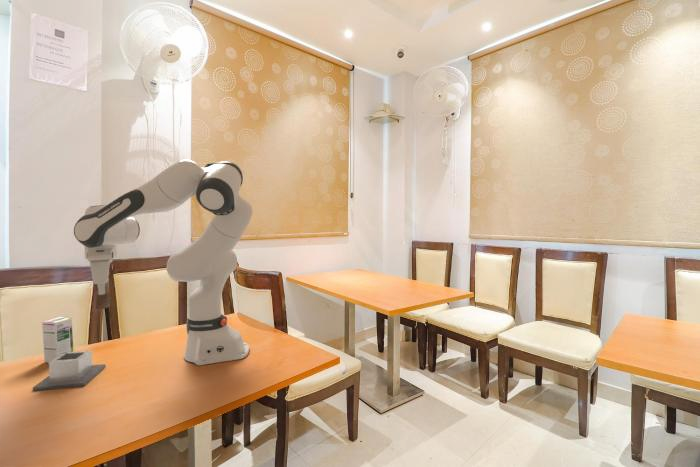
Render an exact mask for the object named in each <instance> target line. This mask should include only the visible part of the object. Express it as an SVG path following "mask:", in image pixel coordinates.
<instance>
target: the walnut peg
mask: <svg viewBox="0 0 700 467" xmlns="http://www.w3.org/2000/svg"><path fill="white" fill-rule="evenodd" d="M94 297H95V298H94V299H95V310H96V309H97V310H103V309H104V310H105V309H108V308H110V307H111V303H110V302H111V300H110V299H111V298H110V297H111V296H110V278H109V277H108V281H107V283H105V294H102V295H99V294H98V285H97V284H94Z"/></svg>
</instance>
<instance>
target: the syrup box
mask: <svg viewBox="0 0 700 467" xmlns="http://www.w3.org/2000/svg"><path fill="white" fill-rule="evenodd" d="M72 320H73V319H72V317H69V316H58V317H56V318H51V319H49V320H45V321H42V323H41V325H42V341H43V343H42V344H43V356H44V357H43V360H44V363H46V362H47V363H48V364H49V362H50V361H52V360H53V359H55V358H56V357H58V356H59V355H61V354H63V353H64V352H74V343H73V342H74V339H73V338H74V336H73V321H72Z"/></svg>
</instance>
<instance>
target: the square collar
mask: <svg viewBox="0 0 700 467" xmlns="http://www.w3.org/2000/svg"><path fill="white" fill-rule="evenodd" d="M92 354H93V353H92V350H80V351H73V352H64V353H63V354H61V355H59V356H58V357H56V358H55V359H53V360H52V361H50V362H49V363H48V368H49V369H48V371H49V373H48V374H49V375H48V376H46V377H45V378H44V379H42V380H41V381H39V382H38V383H37V384H35V385H34V386H33V387H32V392H33V391H34V392H36V391H45V390H58V389H67V388H69V389H70V388H78V387H79V388H80V387H86V386H87V384H89V383H90V382H91V381H92V380H94V379H95V377H97V376H98V375H99V374H100V373H101V372H102V371H104V369H105V368H106V363H104V364H93V359H92V358H93V357H92V356H93V355H92Z"/></svg>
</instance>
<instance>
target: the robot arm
mask: <svg viewBox="0 0 700 467" xmlns="http://www.w3.org/2000/svg"><path fill="white" fill-rule="evenodd" d="M243 175H244V174H243V172H242V170H241V168H240V167H239V166H238V165H237V164H236V163H234V162H231V161H226V160H225V161H219V162H218V161H217V162H214V163H213V162H212V163H207V164H206V165H205V166H204V167H201V166H200V165H199V164H198V163H196V162H195V161H193V160H192V159H191V160H190V159H182V160H179V161H177V162H175V163H173V164H172V165H169V166H168V167H167V168H165V169H163V170H162V171H161V172H159V173H158V174H157V175H155V176H154V177H153V178H151V179H150V180H148V181H147V182H145V183H143V184H142V185H140V186H138V187H136V188H135V189H132V190H130V191H128V192H126V193H124V194H122V195H120V196H118V197H117V198H116V199H114V200H113V201H111V202H110V203H108V204H100V205H92V206H88V207H87V208H86V209H85V212H84V215H83V216H81V217H80V218H79V219H78V220H77V221H76V223H75V225H74V227H73V236H74V237H75V239H76V241H78V243H79V244H81V245H83V246H84V259H86V260H87V262H89V266H90V271H91V278H92V282H93V284H94V285H95V284H97V285H98V294H99V295H102V294H105V283H107V281H108V278H109V276H110V264H111V263H113V259H115V258H117V254H118V253H117V252H118V251H117V245H124V244H125V245H126V244H130V243H134V242H135V241H136V240H138V237H139V235H140V232H141V227H140V224H139V222H138V220H137V219H136V218H134V216H138V215H139V216H140V215H143V214H144V215H145V214H154V213H166V212H170V211H172V210H174V209H176V208H178V207H180V206H181V205H184V204H185V203H186V202H187V201H188V200H190V198H193V197H194V196H195V198H196V201H197V202H198V204H199V205H200V206H201V207H202V208H203V209H204V210H206V211H208V212H210V213H212V214H213V217H212V219H211V220H210V221H209V223H208V225H207V226H206V227H205V229H204V231H203V232H202V233H201V235H200V236H198V237H197V238H196V239H195V240H194V241H192V242H191V243H190V244H188V245H187V246H186V247H185V248H183V249H181V250H179V251H177V252H174V253H172V254H171V255H170V256H169V258H168V260H167V261H166V272H167V274H168V276H169V277H170V278H171V279H172V280H173V281H175V282H182V283H183V282H187V283H189V282H197V281H199V284H198V286H197V287H196V288H195V289H194V290H193V291H191V292H190V294H189V295H188V298H187V318H186V333H187V342H186V348H185V352H184V355H183V359H184V360H185V361H187V362H191V363H193V364H195V365H196V366H204V365H210V364H215V363H217V364H218V363H223V362H224V363H225V362H230V361H238V360H241V359H242V360H243V359H244V358H245V357H247V356H248V354H249V352H250V345H249V343H247V342H244V341H243V340H244V339H243V336H242V334H241V331H239V330H237V329H235V328H233V327H232V326H230V325H229V324H228V317H227V314H225V315H224V314H222V297H223V296H222V294H223V291H224V288H225V285H226V282H227V280H228V278H229V277H230V275H231V274H233V272H234V271H235V270H236V268H237V265H238V257H237V254H236V253H235V252H234V248H235V246H236V245H237V243H238V242H239V240H240V239H241V237H242V236H243V234H244V233H245V231H246V229H247V228H248V226H249V223H250V221H251V219H252V215H253V207H252V205H251V204H250V202H248V201H247V200H246V199H244V198H243V197H241V196H240V193H239V191H240V188H241V187H242V184H243V180H244V179H243Z"/></svg>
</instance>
